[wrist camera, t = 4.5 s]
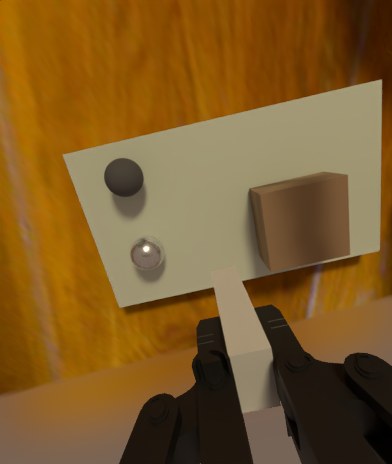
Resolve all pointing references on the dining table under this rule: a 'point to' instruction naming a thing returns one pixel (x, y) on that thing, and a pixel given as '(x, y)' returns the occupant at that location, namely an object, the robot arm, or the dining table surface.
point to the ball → (147, 252)
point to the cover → (302, 220)
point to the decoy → (123, 177)
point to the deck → (228, 187)
